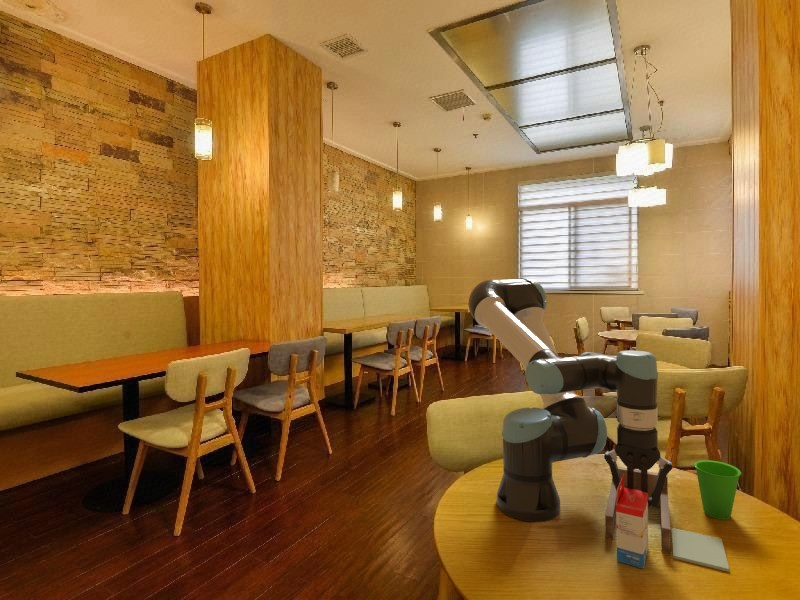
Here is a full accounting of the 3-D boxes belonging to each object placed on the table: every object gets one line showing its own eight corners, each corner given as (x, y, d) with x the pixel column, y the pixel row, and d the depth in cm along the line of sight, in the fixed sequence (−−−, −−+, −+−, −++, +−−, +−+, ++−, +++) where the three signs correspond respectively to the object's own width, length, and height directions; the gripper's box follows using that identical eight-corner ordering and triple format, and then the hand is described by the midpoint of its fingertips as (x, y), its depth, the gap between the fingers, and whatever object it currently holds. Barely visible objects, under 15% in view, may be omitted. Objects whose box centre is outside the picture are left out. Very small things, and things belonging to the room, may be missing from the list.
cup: (743, 528, 98) (744, 479, 97) (694, 517, 102) (694, 471, 102) (738, 510, 105) (739, 464, 105) (693, 500, 110) (693, 457, 109)
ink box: (644, 570, 85) (643, 495, 84) (615, 561, 88) (615, 489, 87) (648, 547, 92) (648, 478, 91) (622, 540, 95) (621, 472, 94)
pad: (673, 558, 88) (673, 555, 88) (671, 530, 98) (671, 527, 98) (729, 572, 84) (729, 568, 84) (721, 541, 93) (721, 538, 93)
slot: (605, 537, 96) (605, 501, 95) (612, 496, 113) (612, 465, 113) (670, 553, 90) (670, 515, 89) (667, 506, 107) (667, 474, 107)
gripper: (601, 426, 93) (602, 535, 94) (674, 435, 87) (674, 552, 88) (604, 416, 100) (605, 518, 101) (672, 423, 93) (672, 532, 94)
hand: (637, 533), depth 94 cm, fingers closed
